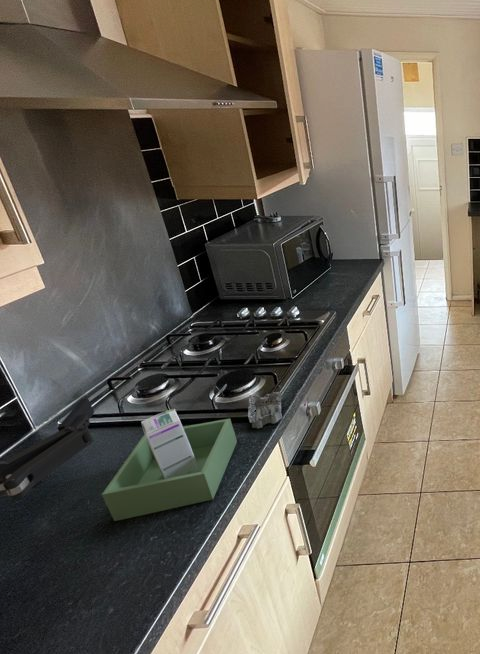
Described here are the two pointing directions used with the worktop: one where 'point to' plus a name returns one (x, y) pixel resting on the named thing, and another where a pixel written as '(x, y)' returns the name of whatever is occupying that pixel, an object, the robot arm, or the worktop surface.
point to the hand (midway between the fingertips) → (28, 417)
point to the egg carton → (264, 409)
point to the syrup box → (170, 444)
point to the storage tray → (162, 494)
